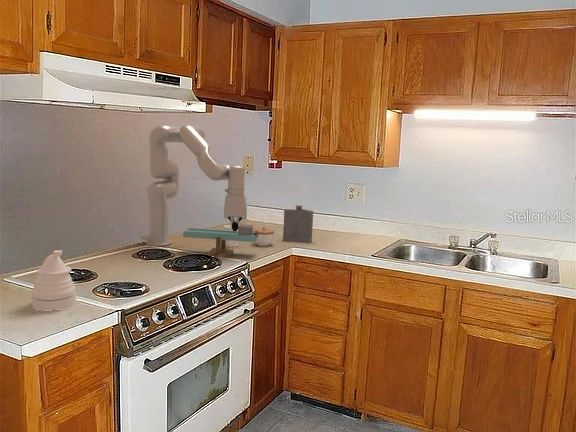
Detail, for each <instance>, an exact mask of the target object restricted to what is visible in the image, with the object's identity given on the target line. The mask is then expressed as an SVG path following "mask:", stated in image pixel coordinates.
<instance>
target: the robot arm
mask: <svg viewBox="0 0 576 432" xmlns="http://www.w3.org/2000/svg"><path fill="white" fill-rule="evenodd" d="M205 134H206V133H205V131H204V129H203V127H201V126H200V125H196V124H185V125H181V124H180V125H179V124H178V125H177V124H159V125H157V126H155V127H153V129H152V130H151V131H150V134H149V137H148V143H149V173H150V175H151V177H153V178H154V179H159V181H158V180H157V181H153V182H151V183H150V184H148V186H147V188H146V195H147V196H146V197H147V202H148V233H147V234H141V235H140V238H141V240H145V244H146V245H147V246H152V247H162V246H163V247H165V246H169V245H171V244H172V240H171V239H169V206H168V203H167V200H170V199H174V198H175V197H177V195H178V193H179V186H180V185H179V181H180V178H179V175H180V174H179V173H180V172H179V166H178V164H177V162H176V161H175V160H173V159H170V158H168V153H169V150H168V147H167V145H166V143H183V144H184V145H185V146H186V147H187V148H188V149H189V150H190V151H191V152H192V153H193V155H194V156H195V157H196V162H197V165H198V167H199V169H200V170H201V171H202V172H203V174H204V175H205V176H206V177H208V178H209V179H210V180H211V181H213V182H214V181H215V182H216V181H227V188H225V189H224V192H225V193H227V194H225V198H224V199H225V200H224V205H223V206H224V207H223V214H224V215H223V218H225V219H226V220H227V219H228V220H229V222H230V223H231V225H232V229H233V231H237V229H238V226H240V225H239V222H240V221H242V220H247V212H248V211H247V210H248V209H247V197H246V195H245V174H246V173H245V171H246V170H245V167H244V166H243V165H236V164H235V165H234V164H233V165H232V164H227V163H216V162H215V161H214V159H212V157H211V156H210V154H209V152H210V150H211V145H210V143H209V142H207V140H206V139H205V136H206V135H205ZM160 179H161V180H160ZM235 219H236V220H235Z"/></svg>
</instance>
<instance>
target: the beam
mask: <svg viewBox="0 0 576 432" xmlns="http://www.w3.org/2000/svg"><path fill="white" fill-rule="evenodd" d="M182 234H183V235H182V236H183V238H190V239H191V238H194V239H206V240H207V239H208V240H216V237H220V238H221V241H222V240H231V241H238V242H247V243H248V242H249V243H256V241H257V239H258V231H255V232H253V235H252V236H250V235H238V231H228V230H224V229H213V228H212V229H211V228H201V227H200V228H198V227H188V228H187V230H183V233H182Z"/></svg>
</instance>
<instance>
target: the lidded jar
mask: <svg viewBox="0 0 576 432" xmlns="http://www.w3.org/2000/svg"><path fill="white" fill-rule="evenodd" d="M255 231H258V239H257V241H256V242H255V243H256V245H257V246H258V247H269V246H270V245H271V243H273V240H274V236H275V230H273V229H270V228H266V227H265V226H264V227H262V228H255V229H253V232H255Z"/></svg>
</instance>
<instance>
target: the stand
mask: <svg viewBox="0 0 576 432" xmlns="http://www.w3.org/2000/svg"><path fill="white" fill-rule="evenodd" d="M234 249H235V248H230V247H227V246H226V240H222V241H221V238H220V237H216V239H215V247H212V249H210V250H209V251H208V252H207V253H206V256H207V255H209V256H214V257H213V258H220V257H223V258H224V259H229V258H230V257H231V256H232V255H233V253H234Z"/></svg>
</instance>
